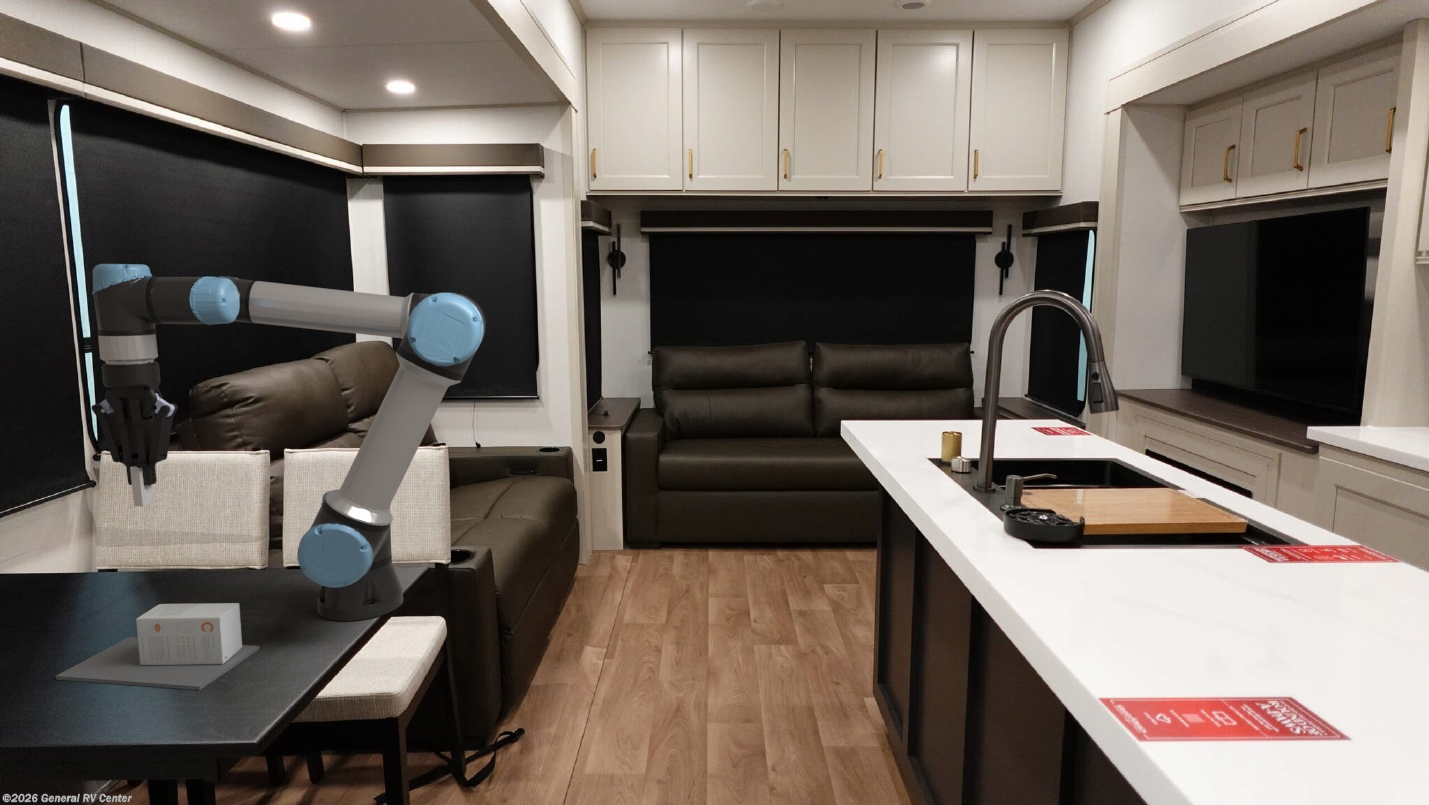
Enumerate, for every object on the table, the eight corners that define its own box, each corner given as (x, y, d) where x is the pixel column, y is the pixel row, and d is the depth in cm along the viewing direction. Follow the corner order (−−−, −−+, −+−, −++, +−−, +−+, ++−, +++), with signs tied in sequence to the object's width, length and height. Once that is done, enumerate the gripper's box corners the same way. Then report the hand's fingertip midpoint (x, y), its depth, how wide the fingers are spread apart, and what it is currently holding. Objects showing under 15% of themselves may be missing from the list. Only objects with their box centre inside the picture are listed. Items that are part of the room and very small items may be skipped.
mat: (259, 649, 138) (259, 646, 138) (199, 690, 124) (199, 686, 124) (129, 640, 140) (128, 637, 140) (56, 679, 126) (55, 676, 126)
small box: (163, 648, 136) (243, 648, 137) (138, 666, 130) (223, 665, 131) (159, 602, 135) (240, 602, 136) (134, 618, 129) (220, 617, 129)
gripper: (185, 359, 133) (198, 498, 137) (109, 358, 134) (124, 497, 138) (152, 364, 126) (166, 511, 130) (71, 363, 127) (88, 509, 130)
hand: (144, 503), depth 134 cm, fingers closed
